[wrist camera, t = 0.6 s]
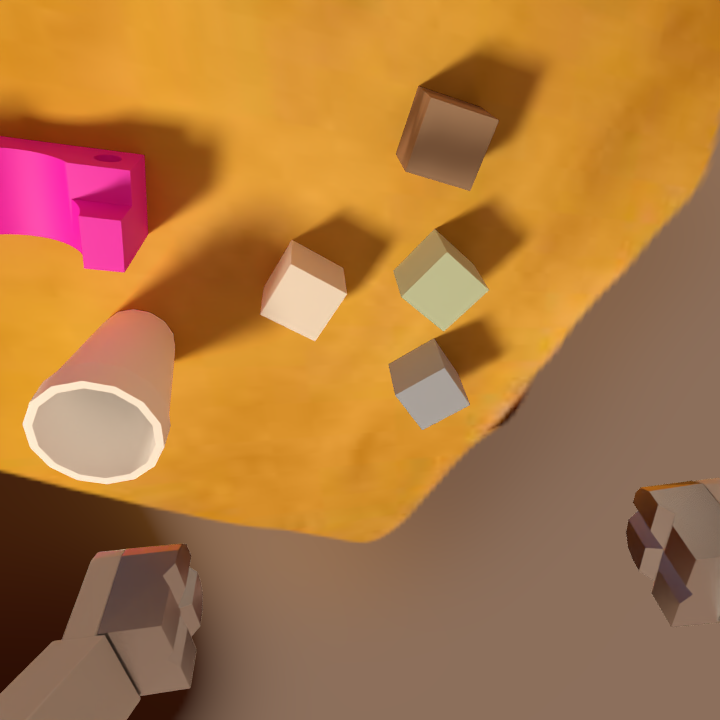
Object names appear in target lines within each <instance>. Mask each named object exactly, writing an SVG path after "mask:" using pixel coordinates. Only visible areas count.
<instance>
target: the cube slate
mask: <svg viewBox="0 0 720 720" xmlns="http://www.w3.org/2000/svg"><path fill="white" fill-rule="evenodd" d="M389 369H390V373H391V378H392V383H393V387H394V392H395V395H396V397H397V398H398V399H399V401H400V402H401V403H402V404H403V406H404V407H405V408H406V410H407V411H408V412H409V413H410V415H411V416H412V417H413V419H414V420H415V421H416V422H417V424H418V425H419V426H420V428H421V429H422V430H423V429H425V428H427V427H429V426H431V425H433V424H435V423H437V422H439V421H441V420H442V419H444V418H446V417H448V416H450V415H452V414H454V413H456V412H458V411H460V410H461V409H463V408H465V407H467V406H469V405H470V403H469V401H468V398H467V396H466V393H465V391H464V388H463V385H462V383H461V380H460V378H459V375H458V373H457V372H456V370H455V369H454V367H453V366H452V364H451V363H450V361H449V360H448V358H447V357H446V355H445V354H444V352H443V351H442V349H441V348H440V346H439V345H438V344H437V342H436V341H435V339H432V340H430V341H429V342H427V343H425V344H423V345H421V346H420V347H418V348H416V349H414V350H413V351H411V352H409V353H407V354H406V355H404V356H402V357H400V358H399V359H397V360H395V361H393V362H392V363H390V364H389Z"/></svg>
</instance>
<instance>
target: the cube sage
mask: <svg viewBox="0 0 720 720" xmlns="http://www.w3.org/2000/svg"><path fill="white" fill-rule="evenodd" d="M394 275H395V278H396V281H397V284H398V288H399V291H400V294H401V297H402V298H403V299H404V300H406V301H407V302H408V303H409V304H411V305H412V306H413V307H414V308H415V309H417V310H418V311H419V312H420V313H422V314H423V315H424V316H425V317H427V318H428V319H429V320H430V321H431V322H433V323H434V324H435V325H436V326H438V327H439V328H440V329H441V330H442V331H445V330H446V329H447V328H448V327H449V326H450V325H452V324H453V323H454V322H455V321H456V320H457V319H458V318H459V317H460V316H461V315H462V314H464V313H465V312H466V311H467V310H468V309H469V308H470V307H471V306H472V305H473V304H474V303H476V302H477V301H478V300H479V299H480V298H481V297H482V296H483V295H484V294H485V293H486V292H487V291H489V289H488V287H487V286H486V284H485V282H484V281H483V279H482V277H481V276H480V274H479V272H478V271H477V269H476V267H475V266H474V264H473V263H472V262H470V261H469V260H468V259H467V258H466V257H465V256H464V255H463V254H462V253H461V252H460V251H458V250H457V249H456V248H455V247H454V246H453V245H452V244H451V243H450V242H449V241H448V240H447V239H445V238H444V237H443V236H442V235H441V234H440V233H439V232H438V231H437V230H436V229H434V230H433V231H432V232H431V233H430V234H429V235H428V236H427V237H426V238H425V239H424V240H423V241H422V242H421V243H420V244H419V245H418V246H417V247H416V248H415V249H414V250H413V251H412V252H411V253H410V254H409V255H408V256H407V257H406V259H405V260H404V261H403V262H402V263H401V264H400V265H399V266H398V267H397V268H396V269H395V270H394Z"/></svg>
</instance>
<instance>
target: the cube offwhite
mask: <svg viewBox="0 0 720 720" xmlns="http://www.w3.org/2000/svg"><path fill="white" fill-rule="evenodd" d="M346 295H347V290H346V283H345V276H344V269H343V268H342V267H341V266H339V265H337V264H335V263H333V262H331V261H330V260H328V259H326V258H324V257H322V256H321V255H319V254H317V253H315V252H313V251H311V250H310V249H308V248H306V247H304V246H302V245H301V244H299V243H297V242H295V241H293V240H291V242H290V244H289V245H288V247H287V249H286V250H285V252H284V254H283V256H282V257H281V259H280V261H279V262H278V264H277V266H276V267H275V269H274V271H273V272H272V274H271V276H270V277H269V279H268V281H267V283H266V284H265V286H264V289H263V297H262V305H261V313H260V315H262V316H264V317H266V318H268V319H270V320H272V321H274V322H277V323H279V324H281V325H283V326H285V327H287V328H289V329H291V330H293V331H295V332H297V333H299V334H301V335H303V336H305V337H307V338H309V339H311V340H314V341H316V339H317V338H318V336H319V335H320V333H321V332H322V330H323V329H324V327H325V326H326V324H327V323H328V321H329V320H330V318H331V317H332V315H333V314H334V312H335V311H336V310H337V308H338V307H339V305H340V304H341V302H342V301H343V299H344V298H345V296H346Z"/></svg>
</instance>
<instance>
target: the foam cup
mask: <svg viewBox="0 0 720 720" xmlns="http://www.w3.org/2000/svg"><path fill="white" fill-rule="evenodd" d="M174 357H175V342H174V334H173V333H172V331H171V330H170V328H169V327H168V325H167V324H166V323H165V321H163V320H162V319H160V318H158V317H157V316H155V315H154V314H152V313H150V312H146V311H141V310H136V309H131V310H126V311H120V312H117V313H116V314H114V315H113V316H112V317H110V318H109V319H108V320H106V322H105V323H103V324H102V325H101V326H100V327H99V328H98V329H97V330H96V332H95V333H94V334H93V335H92V336H91V337H90V338H89V339H88V340H87V341H86V342H85V343H84V344H83V345H82V346H81V347H80V348H79V349H78V350H77V351H76V352H75V353H74V354H73V355H72V357H71V358H70V359H69V360H68V361H67V362H66V363H65V364H64V365H63V366H62V367H61V368H60V369H59V370H58V371H57V372H56V373H54V374H53V375H52V376H50V377H49V378H48V379H46V380H45V381H44V382H43V383H42V384H41V386H40V387H39V389H38V390H37V392H36V393H35V395H34V397H33V398H32V400H31V401H30V403H29V406H28V409H27V412H26V415H25V418H24V422H23V427H24V430H25V433H26V436H27V439H28V442H29V445H30V448H31V449H32V450H33V451H34V452H35V453H36V454H37V455H38V456H39V457H40V458H41V459H42V460H43V461H44V462H45V463H46V464H47V465H48V466H49V467H51V468H53V469H55V470H57V471H59V472H61V473H63V474H66V475H68V476H70V477H72V478H74V479H76V480H81V481H88V482H96V483H103V484H110V483H116V482H122V481H127V480H133V479H136V478H137V477H139V476H140V475H142V474H143V473H145V472H146V471H148V470H149V469H151V468H153V467H154V466H155V465H156V463H157V461H158V459H159V457H160V454H161V452H162V450H163V448H164V446H165V443H166V440H167V436H168V433H169V429H170V426H171V425H170V419H169V409H170V399H171V388H172V378H173V368H174Z"/></svg>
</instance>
